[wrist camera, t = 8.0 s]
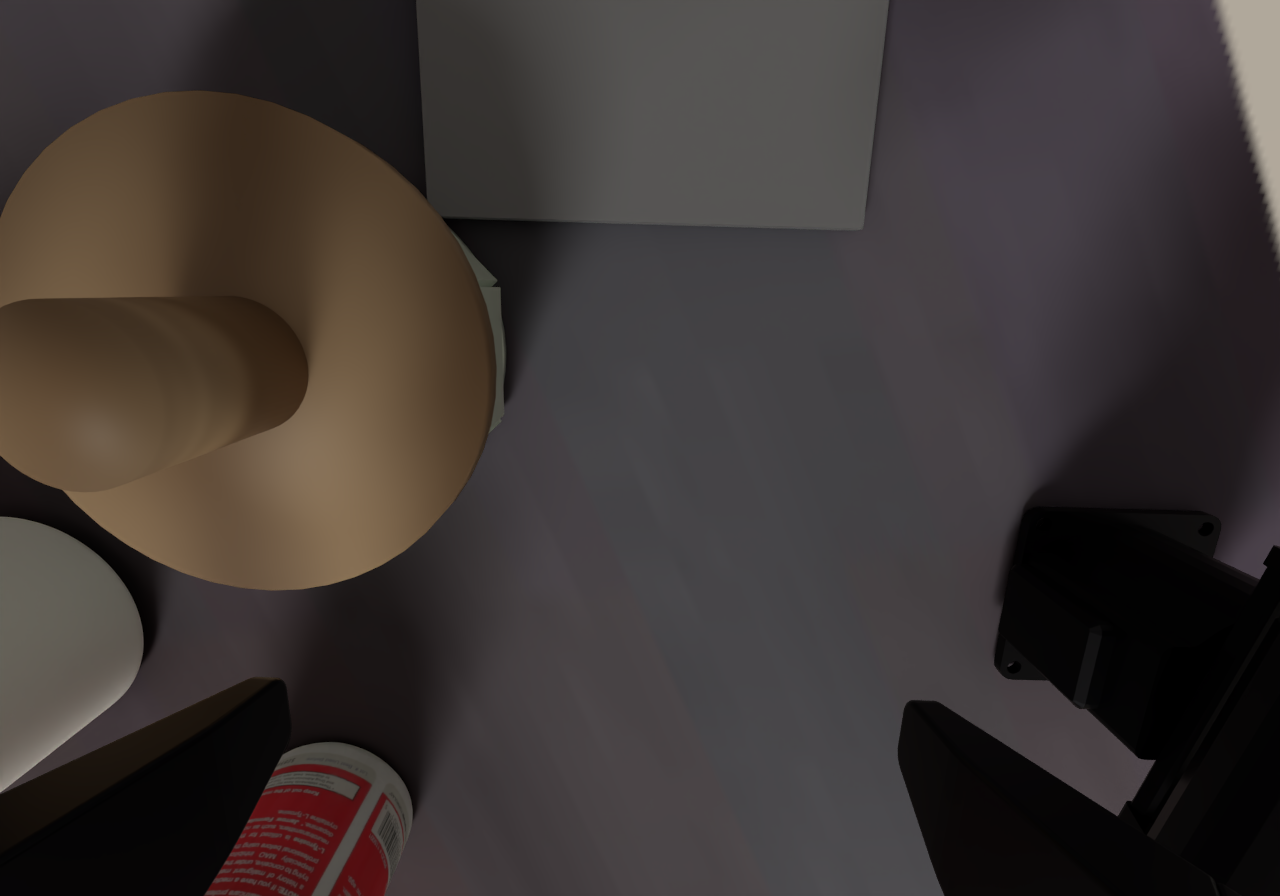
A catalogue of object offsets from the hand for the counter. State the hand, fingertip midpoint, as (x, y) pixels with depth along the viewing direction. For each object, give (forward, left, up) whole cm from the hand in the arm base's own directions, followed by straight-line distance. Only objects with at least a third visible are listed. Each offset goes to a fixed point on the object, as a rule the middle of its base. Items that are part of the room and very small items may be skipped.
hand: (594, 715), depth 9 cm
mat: (-1, -14, -12) cm, 19 cm away
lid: (+9, -4, -8) cm, 12 cm away
